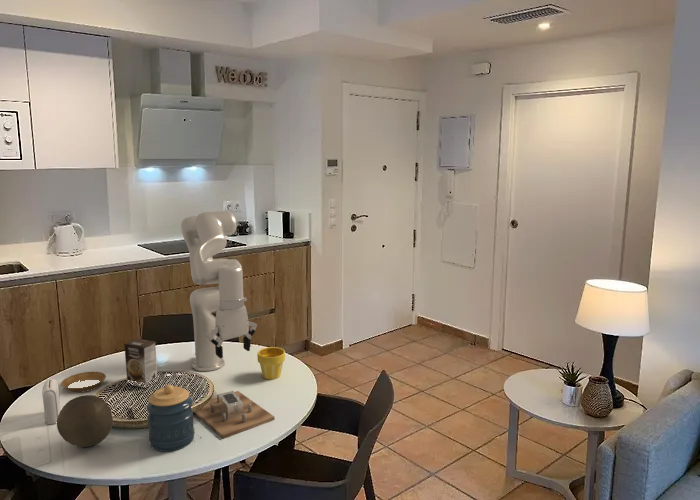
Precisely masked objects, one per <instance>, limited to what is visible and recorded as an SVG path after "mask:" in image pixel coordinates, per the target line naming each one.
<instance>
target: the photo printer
mask: <svg viewBox="0 0 700 500" xmlns="http://www.w3.org/2000/svg"><path fill="white" fill-rule="evenodd" d="M41 391H42V393H41V394H42V402H43V403H42V404H43V410H44V411H43V412H44V419H45V423H46V424H47V425H49V424H50V425H54V424H53V423H55V424H57V423H56V422H57V418H58V415H59V413H60V411H61V410H62V408H61V407H62V406H61V400H60V392H59V383H58V381H57V380H56V379H55V378H49V379H47V380H45V382H44V383H43V386H42V390H41Z"/></svg>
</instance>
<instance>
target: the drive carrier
mask: <svg viewBox="0 0 700 500" xmlns="http://www.w3.org/2000/svg"><path fill="white" fill-rule="evenodd" d="M235 392H236V391H234V390H230V391H227V392H222V393H218V394H219V407H220V409H221V410H222V412H223V413H226V417H227V419H228V420H230V419H234V418H238V417H242V414H243V402H242V401H241V400H240V399H239V397H238V396H237V395H236V394H235Z"/></svg>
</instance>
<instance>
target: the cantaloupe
mask: <svg viewBox="0 0 700 500" xmlns="http://www.w3.org/2000/svg"><path fill="white" fill-rule="evenodd" d="M113 424H114V419H113V415H112V409H111V407H110V406H109V404H108V403H106V402H105V401H104V399H102V398H101V397H99V396H98V395H97V396H96V395H92V394H89V395H88V394H85V395H80V396H76V397H74V398H72V399H70V400H68V401H67V402H66V403H65V404H64V405H63V406H62V408H61V411H60V413H59V415H58V418H57V423H56V429H57V431H58V433H59V435H60V436H61V438H62V439H63V440H64V441H65V442H66V443H68V444H70V445H72V446H75V447H78V448H86V447H92V446H96V445H97V444H99V443H101V442H102V441H104V440H105V439H106V438H107V437H108V436H109V434H110V433H111V430H112V427H113Z"/></svg>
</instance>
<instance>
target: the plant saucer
mask: <svg viewBox="0 0 700 500" xmlns="http://www.w3.org/2000/svg"><path fill="white" fill-rule="evenodd" d="M106 378H107V375H106V373H104V372H101V371H83V372H78V373H75V374H72V375H70V376H67V377H65V378H64V379H63V380H62V381H61V383H60V386H61V387H63V388H64V389H65V390H66V391H69V392H71V393H83V392H82V391H85V392H88V391H87V390H89V391H92V390H95V389H97V388H98V387H99V386H100V385H102V384H103V382H104V381H105V379H106ZM79 380H80V382H81V381H85V380H99V381H100V382H99V383H97V384H95V385H92V386H88V387H83V388H68V386H69V385H70V384H72V383H74V382H78V381H79ZM96 387H97V388H96ZM94 388H95V389H94ZM91 389H92V390H91Z"/></svg>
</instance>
